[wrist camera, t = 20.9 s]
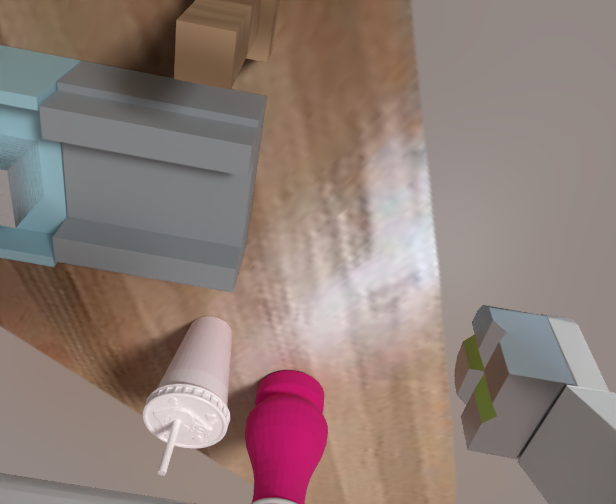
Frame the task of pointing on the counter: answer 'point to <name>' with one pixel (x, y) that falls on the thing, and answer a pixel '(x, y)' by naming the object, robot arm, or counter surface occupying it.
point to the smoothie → (193, 391)
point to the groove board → (154, 174)
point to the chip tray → (26, 124)
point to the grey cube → (18, 179)
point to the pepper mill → (285, 436)
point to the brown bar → (223, 39)
